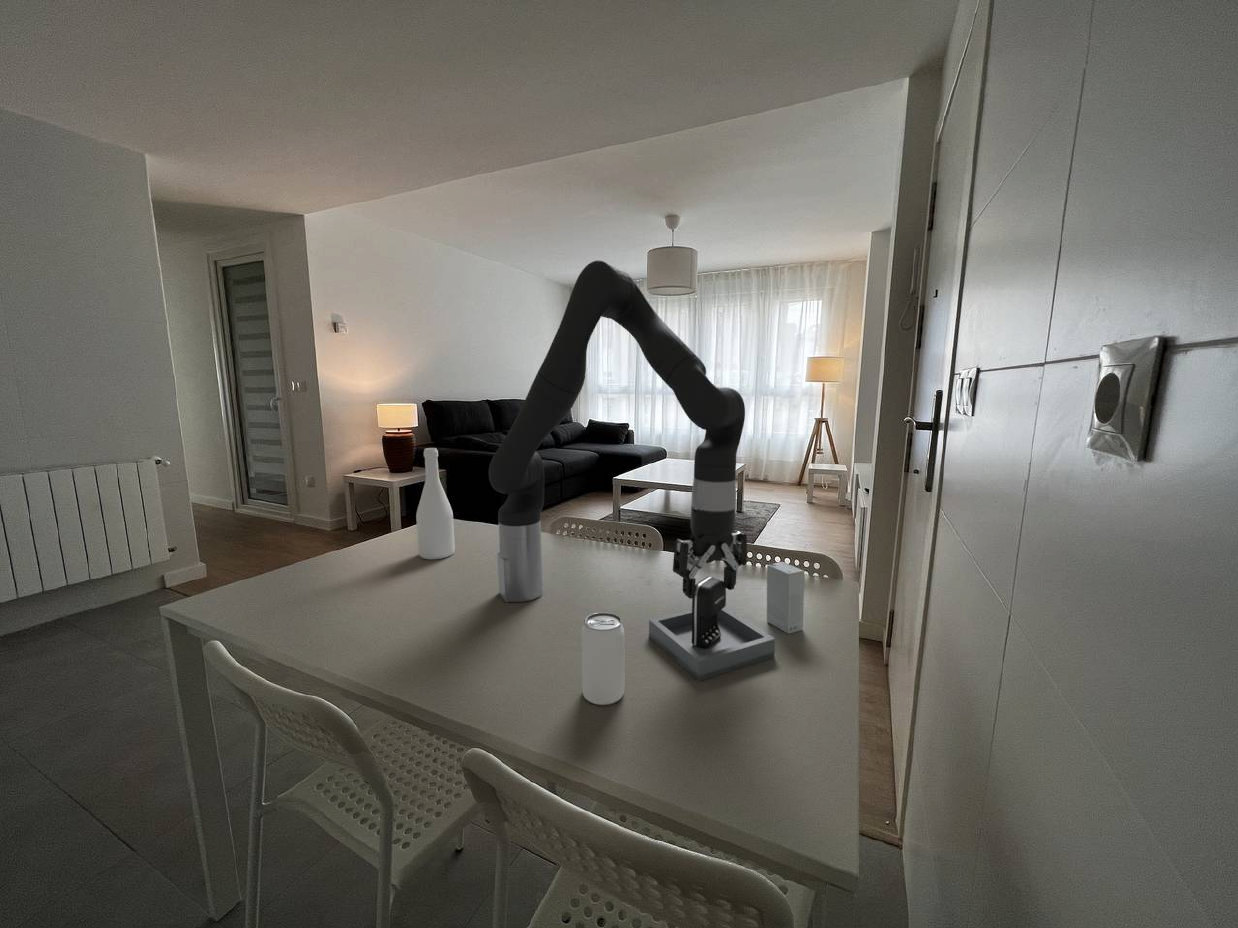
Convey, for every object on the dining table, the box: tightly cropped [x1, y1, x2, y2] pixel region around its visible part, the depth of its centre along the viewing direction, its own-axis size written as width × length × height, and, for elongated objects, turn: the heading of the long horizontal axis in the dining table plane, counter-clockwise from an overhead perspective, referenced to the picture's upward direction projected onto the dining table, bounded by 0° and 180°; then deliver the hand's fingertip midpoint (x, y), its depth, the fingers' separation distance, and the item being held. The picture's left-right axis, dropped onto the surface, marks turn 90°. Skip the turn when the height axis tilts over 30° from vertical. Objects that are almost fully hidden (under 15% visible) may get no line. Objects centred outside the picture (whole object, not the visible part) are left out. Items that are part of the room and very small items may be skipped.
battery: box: [691, 576, 727, 648], centre depth 90 cm, size 7×4×11 cm, turn 142°
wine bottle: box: [415, 447, 456, 560], centre depth 138 cm, size 10×10×30 cm
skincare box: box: [766, 561, 805, 634], centre depth 98 cm, size 6×4×12 cm
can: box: [581, 612, 625, 707], centre depth 76 cm, size 6×6×12 cm
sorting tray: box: [648, 606, 776, 682], centre depth 90 cm, size 16×16×4 cm
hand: (709, 592), depth 89 cm, fingers open, 8 cm apart
